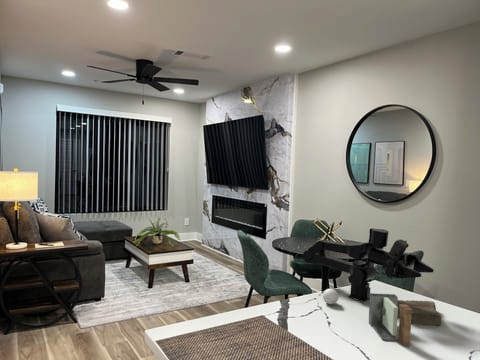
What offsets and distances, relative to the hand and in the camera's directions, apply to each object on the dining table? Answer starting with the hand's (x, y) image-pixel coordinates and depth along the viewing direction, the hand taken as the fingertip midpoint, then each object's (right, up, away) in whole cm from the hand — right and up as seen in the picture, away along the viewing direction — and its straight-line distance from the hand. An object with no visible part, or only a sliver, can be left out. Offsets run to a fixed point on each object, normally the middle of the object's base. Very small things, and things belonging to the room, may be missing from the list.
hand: (427, 273), depth 121 cm
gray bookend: (-17, -16, -8) cm, 25 cm away
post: (-15, -17, -15) cm, 27 cm away
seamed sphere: (-29, -15, +12) cm, 35 cm away
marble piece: (-1, -17, +4) cm, 17 cm away
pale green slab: (-18, -15, -10) cm, 25 cm away
